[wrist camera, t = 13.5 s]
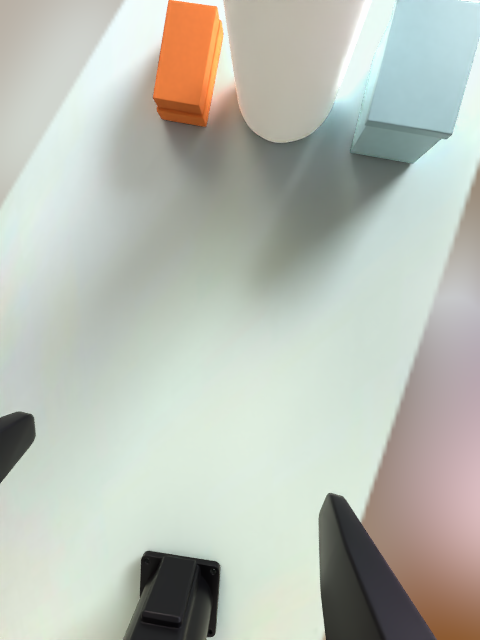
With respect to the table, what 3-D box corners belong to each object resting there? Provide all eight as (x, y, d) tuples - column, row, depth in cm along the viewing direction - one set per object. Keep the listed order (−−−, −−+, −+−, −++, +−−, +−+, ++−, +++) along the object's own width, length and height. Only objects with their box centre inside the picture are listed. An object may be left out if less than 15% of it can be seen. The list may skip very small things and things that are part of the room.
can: (237, 148, 19) (191, -93, 7) (238, 47, 18) (188, -407, 6) (333, 144, 18) (456, -126, 7) (337, 39, 18) (483, -476, 6)
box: (414, 166, 18) (452, 134, 14) (346, 154, 18) (367, 120, 15) (442, 64, 17) (490, 2, 14) (371, 53, 18) (399, -10, 14)
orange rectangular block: (206, 127, 19) (200, 109, 17) (161, 119, 19) (150, 101, 17) (223, 34, 18) (219, 4, 16) (177, 27, 19) (167, -3, 17)
